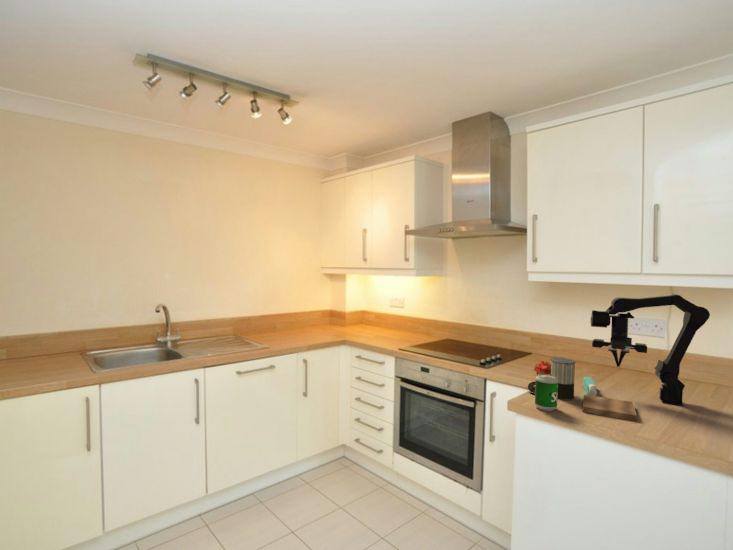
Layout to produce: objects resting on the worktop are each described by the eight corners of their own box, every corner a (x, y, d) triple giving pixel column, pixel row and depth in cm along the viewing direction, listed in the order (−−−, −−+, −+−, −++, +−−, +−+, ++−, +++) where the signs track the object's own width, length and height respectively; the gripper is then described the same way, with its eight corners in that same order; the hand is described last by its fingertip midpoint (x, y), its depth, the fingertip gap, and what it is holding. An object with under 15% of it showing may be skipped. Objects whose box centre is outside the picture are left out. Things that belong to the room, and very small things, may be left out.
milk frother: (580, 400, 156) (581, 362, 156) (543, 401, 154) (544, 363, 154) (557, 388, 170) (558, 354, 170) (523, 390, 168) (524, 355, 168)
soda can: (546, 413, 141) (547, 379, 141) (530, 406, 148) (531, 374, 148) (561, 410, 144) (562, 377, 144) (545, 403, 151) (545, 372, 151)
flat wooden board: (632, 407, 149) (632, 401, 149) (636, 421, 135) (636, 415, 135) (583, 399, 157) (583, 394, 157) (582, 412, 143) (583, 406, 143)
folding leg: (597, 399, 156) (597, 386, 156) (588, 398, 158) (588, 385, 157) (591, 386, 173) (591, 375, 173) (583, 385, 174) (583, 374, 174)
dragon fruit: (536, 377, 193) (554, 388, 182) (525, 368, 190) (543, 379, 179) (546, 363, 194) (565, 373, 183) (536, 354, 191) (555, 364, 180)
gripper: (591, 328, 160) (590, 366, 161) (648, 333, 150) (646, 374, 150) (593, 325, 170) (592, 361, 170) (647, 330, 159) (646, 368, 159)
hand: (618, 366), depth 162 cm, fingers closed
